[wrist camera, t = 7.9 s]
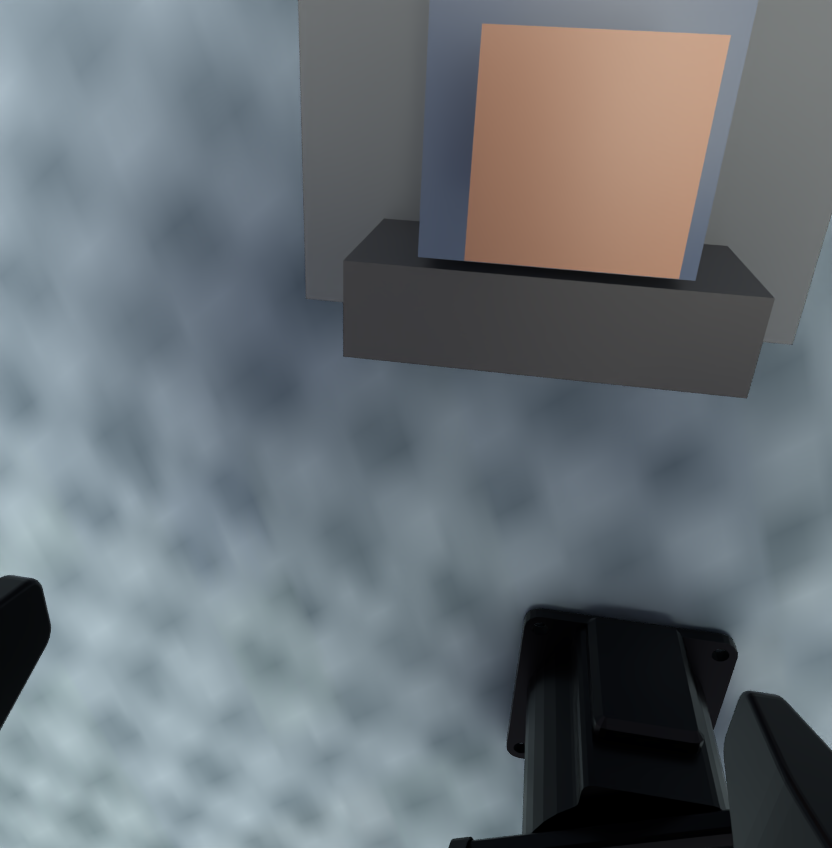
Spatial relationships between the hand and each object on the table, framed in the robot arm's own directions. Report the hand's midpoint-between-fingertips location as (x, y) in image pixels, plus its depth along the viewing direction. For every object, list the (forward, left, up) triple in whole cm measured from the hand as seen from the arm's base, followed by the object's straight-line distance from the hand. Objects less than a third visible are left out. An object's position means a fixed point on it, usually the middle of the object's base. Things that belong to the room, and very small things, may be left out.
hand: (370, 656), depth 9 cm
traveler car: (+6, -2, -10) cm, 11 cm away
